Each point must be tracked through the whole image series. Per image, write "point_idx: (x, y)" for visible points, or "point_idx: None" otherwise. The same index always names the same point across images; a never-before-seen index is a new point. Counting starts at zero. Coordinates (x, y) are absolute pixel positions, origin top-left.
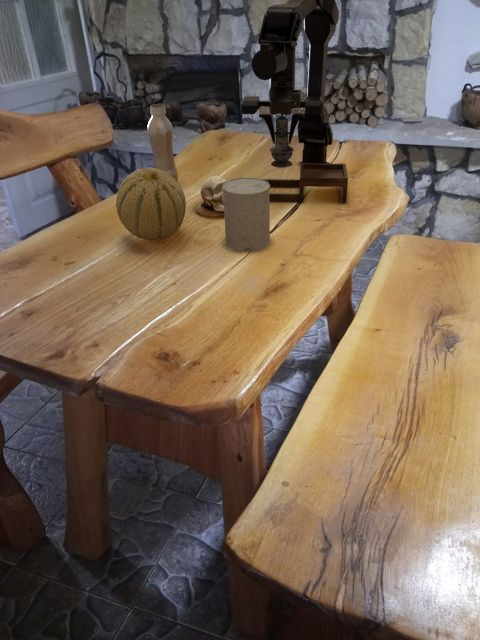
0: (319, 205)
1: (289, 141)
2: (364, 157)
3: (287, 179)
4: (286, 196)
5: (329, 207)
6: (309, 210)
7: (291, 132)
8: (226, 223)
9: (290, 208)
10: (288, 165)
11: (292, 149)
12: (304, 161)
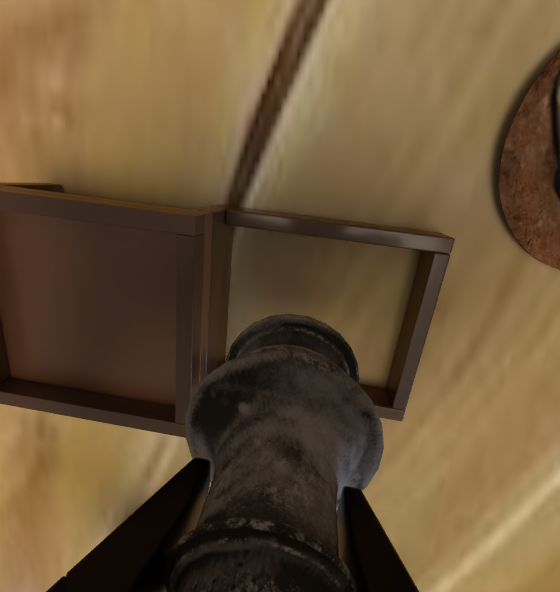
0: (151, 167)
1: (195, 471)
2: (22, 565)
3: None
4: (286, 216)
5: (110, 140)
6: (194, 107)
7: (123, 556)
8: None
9: (277, 138)
10: (251, 336)
11: (194, 420)
12: None
